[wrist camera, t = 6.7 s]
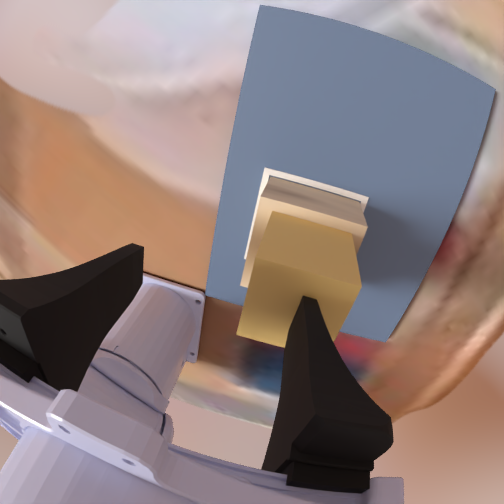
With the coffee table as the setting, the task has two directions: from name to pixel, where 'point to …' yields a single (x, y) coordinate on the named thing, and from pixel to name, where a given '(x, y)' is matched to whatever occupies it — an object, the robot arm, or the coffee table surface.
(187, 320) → the robot arm
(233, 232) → the board
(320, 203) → the maple base block
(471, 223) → the coffee table surface
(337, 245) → the ochre block
